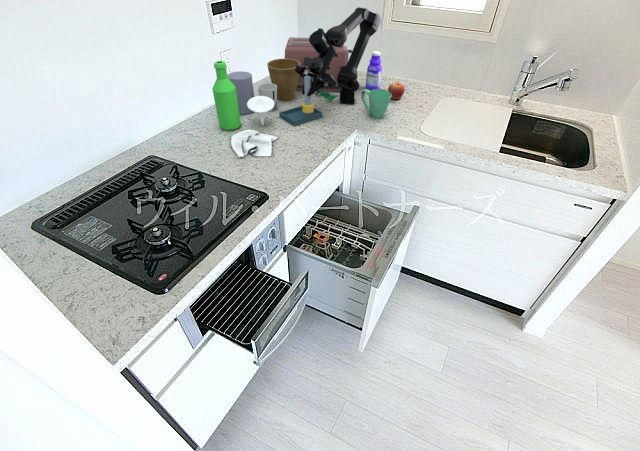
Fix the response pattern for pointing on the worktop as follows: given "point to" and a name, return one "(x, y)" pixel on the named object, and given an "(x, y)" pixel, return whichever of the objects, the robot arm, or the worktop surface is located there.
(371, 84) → the bottle
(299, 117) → the tray
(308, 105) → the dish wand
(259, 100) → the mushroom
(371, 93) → the mug
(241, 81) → the container
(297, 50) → the toaster
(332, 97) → the green spatula
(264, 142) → the cloth
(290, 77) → the plant pot
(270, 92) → the cup
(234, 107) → the bottle
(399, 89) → the apple
